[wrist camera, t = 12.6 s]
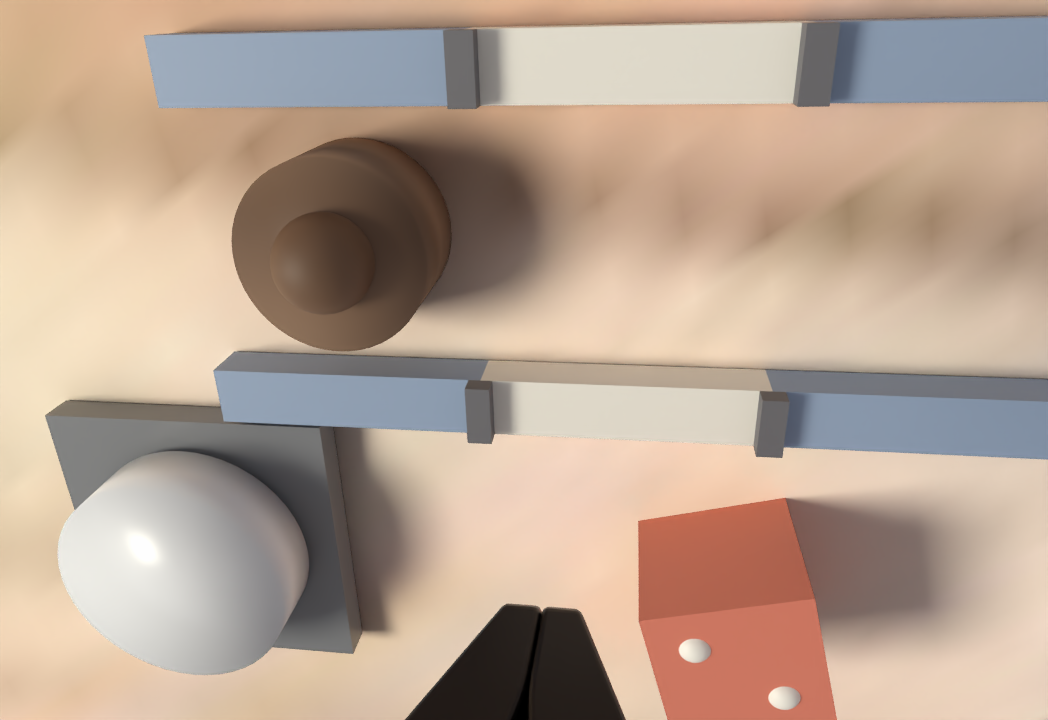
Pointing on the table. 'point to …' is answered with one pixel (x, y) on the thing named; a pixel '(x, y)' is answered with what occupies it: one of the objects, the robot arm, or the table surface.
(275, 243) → the pawn
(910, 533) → the table surface
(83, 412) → the dome base
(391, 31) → the lane
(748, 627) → the die
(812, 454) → the table surface
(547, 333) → the table surface
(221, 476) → the dome
